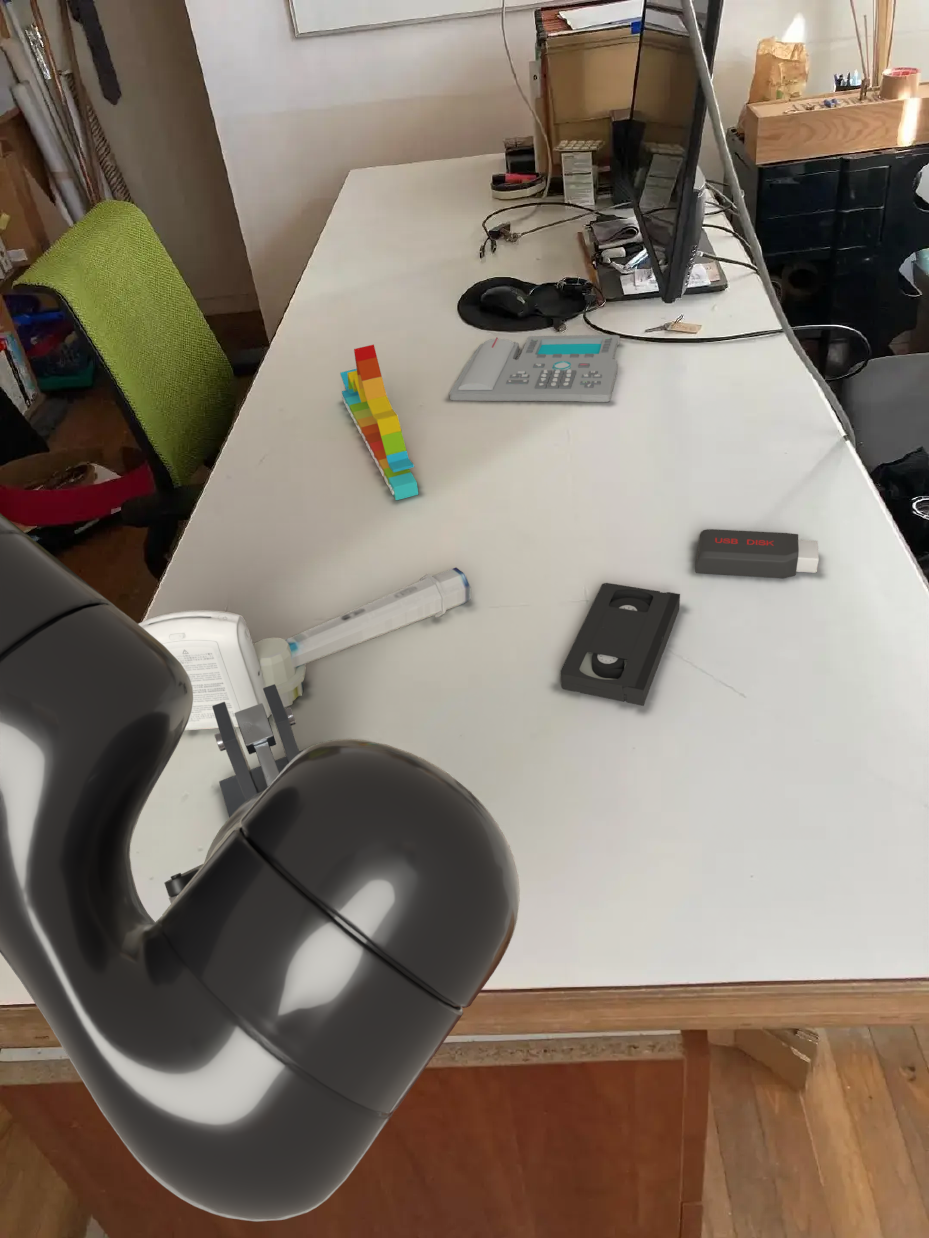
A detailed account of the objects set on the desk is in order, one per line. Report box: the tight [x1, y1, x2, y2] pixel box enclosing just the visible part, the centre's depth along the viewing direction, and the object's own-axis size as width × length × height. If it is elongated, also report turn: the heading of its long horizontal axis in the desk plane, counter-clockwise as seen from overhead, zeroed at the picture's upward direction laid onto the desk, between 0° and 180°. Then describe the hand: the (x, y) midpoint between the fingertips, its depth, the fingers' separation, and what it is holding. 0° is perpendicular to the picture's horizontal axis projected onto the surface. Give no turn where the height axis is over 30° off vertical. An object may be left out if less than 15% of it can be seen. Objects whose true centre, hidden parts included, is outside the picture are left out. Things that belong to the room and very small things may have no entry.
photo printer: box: [137, 609, 272, 731], centre depth 85 cm, size 10×4×12 cm, turn 90°
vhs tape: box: [560, 582, 681, 706], centre depth 89 cm, size 14×8×2 cm, turn 157°
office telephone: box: [448, 334, 621, 403], centre depth 139 cm, size 23×3×20 cm
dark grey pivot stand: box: [212, 684, 304, 819], centre depth 74 cm, size 12×9×13 cm
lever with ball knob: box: [234, 703, 279, 786], centre depth 69 cm, size 13×3×3 cm, turn 22°
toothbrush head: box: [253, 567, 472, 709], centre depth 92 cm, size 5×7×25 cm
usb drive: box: [695, 528, 820, 579], centre depth 97 cm, size 5×12×3 cm, turn 76°
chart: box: [339, 344, 419, 501], centre depth 122 cm, size 30×3×15 cm, turn 18°
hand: (291, 843), depth 55 cm, fingers closed
